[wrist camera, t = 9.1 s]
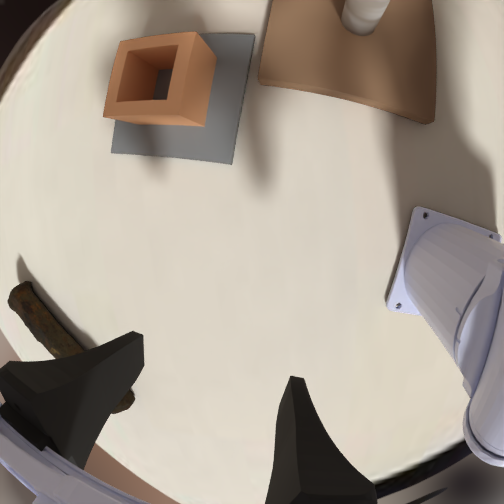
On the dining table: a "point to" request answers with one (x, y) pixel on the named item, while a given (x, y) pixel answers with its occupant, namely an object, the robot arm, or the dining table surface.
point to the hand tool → (50, 330)
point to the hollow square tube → (145, 76)
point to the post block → (355, 52)
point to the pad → (218, 113)
